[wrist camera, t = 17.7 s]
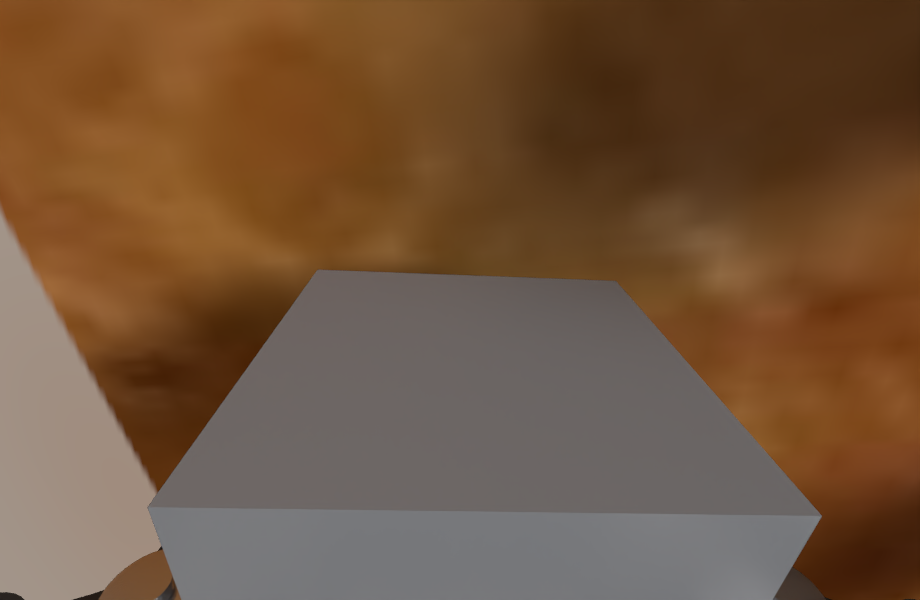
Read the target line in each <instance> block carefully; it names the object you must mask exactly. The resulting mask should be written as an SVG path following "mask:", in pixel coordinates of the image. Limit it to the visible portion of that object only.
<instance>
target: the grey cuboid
mask: <svg viewBox="0 0 920 600" xmlns="http://www.w3.org/2000/svg"><path fill="white" fill-rule="evenodd" d="M148 510H149V513H150V515H151V518H152V521H153V524H154V526H155V529H156V532H157V534H158V537H159V540H160V543H161V546H162V548H163V551H164V554H165V556H166V559H167V562H168V565H169V567H170V570H171V573H172V576H173V578H174V581H175V584H176V586H177V589H178V592H179V595H180V597H181V600H773V598H774V596H775V595H776V593H777V591H778V590H779V588H780V586H781V584H782V583H783V581H784V579H785V578H786V576H787V574H788V573H789V571H790V569H791V568H792V566H793V564H794V562H795V561H796V559H797V557H798V556H799V554H800V552H801V551H802V549H803V547H804V546H805V544H806V542H807V540H808V539H809V537H810V535H811V534H812V532H813V530H814V529H815V527H816V525H817V524H818V522H819V520H820V518H821V517H822V515H821V514H820V513H819V512H818V511H817V510H816V509H815V508H814V506H813V505H812V504H811V503H810V502H809V501H808V500H807V498H806V497H805V496H804V495H803V494H802V493H801V492H800V490H799V489H798V488H797V487H796V486H795V485H794V484H793V482H792V481H791V480H790V479H789V478H788V477H787V476H786V474H785V473H784V472H783V471H782V470H781V469H780V468H779V466H778V465H777V464H776V463H775V462H774V461H773V460H772V458H771V457H770V456H769V455H768V454H767V453H766V452H765V450H764V449H763V448H762V447H761V446H760V445H759V444H758V442H757V441H756V440H755V439H754V438H753V437H752V436H751V435H750V433H749V432H748V431H747V430H746V429H745V428H744V427H743V425H742V424H741V423H740V422H739V421H738V420H737V419H736V417H735V416H734V415H733V414H732V413H731V412H730V411H729V409H728V408H727V407H726V406H725V405H724V404H723V403H722V401H721V400H720V399H719V398H718V397H717V396H716V395H715V393H714V392H713V391H712V390H711V389H710V388H709V387H708V385H707V384H706V383H705V382H704V381H703V380H702V379H701V377H700V376H699V375H698V374H697V373H696V372H695V371H694V370H693V368H692V367H691V366H690V365H689V364H688V363H687V362H686V360H685V359H684V358H683V357H682V356H681V355H680V354H679V352H678V351H677V350H676V349H675V348H674V347H673V346H672V344H671V343H670V342H669V341H668V340H667V339H666V338H665V336H664V335H663V334H662V333H661V332H660V331H659V330H658V328H657V327H656V326H655V325H654V324H653V323H652V322H651V320H650V319H649V318H648V317H647V316H646V315H645V314H644V312H643V311H642V310H641V309H640V308H639V307H638V306H637V305H636V303H635V302H634V301H633V300H632V299H631V298H630V297H629V295H628V294H627V293H626V292H625V291H624V290H623V289H622V287H621V286H620V285H619V284H618V283H617V282H616V281H605V280H578V279H552V278H525V277H498V276H472V275H445V274H419V273H392V272H366V271H339V270H317V271H316V273H315V274H314V275H313V277H312V278H311V280H310V281H309V282H308V284H307V285H306V287H305V288H304V289H303V291H302V292H301V294H300V295H299V296H298V298H297V299H296V301H295V302H294V303H293V305H292V306H291V308H290V309H289V310H288V312H287V313H286V315H285V316H284V317H283V319H282V320H281V321H280V323H279V324H278V326H277V327H276V328H275V330H274V331H273V333H272V334H271V335H270V337H269V338H268V340H267V341H266V342H265V344H264V345H263V347H262V348H261V349H260V351H259V352H258V354H257V355H256V356H255V358H254V359H253V361H252V362H251V363H250V365H249V366H248V368H247V369H246V370H245V372H244V373H243V375H242V376H241V377H240V379H239V380H238V382H237V383H236V384H235V386H234V387H233V389H232V390H231V391H230V393H229V394H228V395H227V397H226V398H225V400H224V401H223V402H222V404H221V405H220V407H219V408H218V409H217V411H216V412H215V414H214V415H213V416H212V418H211V419H210V421H209V422H208V423H207V425H206V426H205V428H204V429H203V430H202V432H201V433H200V435H199V436H198V437H197V439H196V440H195V442H194V443H193V444H192V446H191V447H190V449H189V450H188V451H187V453H186V454H185V456H184V457H183V458H182V460H181V461H180V463H179V464H178V465H177V467H176V468H175V470H174V471H173V472H172V474H171V475H170V476H169V478H168V479H167V481H166V482H165V483H164V485H163V486H162V488H161V489H160V490H159V492H158V493H157V495H156V496H155V497H154V499H153V500H152V502H151V503H150V504H149V506H148Z"/></svg>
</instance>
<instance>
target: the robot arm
mask: <svg viewBox="0 0 920 600" xmlns="http://www.w3.org/2000/svg"><path fill="white" fill-rule="evenodd" d="M0 600H24V599H23V598H22V597H21V596H19V595H17V594H14V593H7V592H5V593H0ZM74 600H181V597H180V595H179V592H178V589H177V586H176V584H175V581H174V578H173V576H172V573H171V570H170V567H169V565H168V562H167V559H166V556H165V554H164V551H163V548H162V546H161V547H160V549H159V550H158V551H157V552H153V553H151V554H148V555H147V556H144V557H142V558H140V559H139V560H137V561H135V562H134V563H132V564H131V565H130V566H128V567H127V568H125V569H124V570H123V571H122V572H121V573H119V574H118V575H117V576H116V577H115V578H114V579H113V581H111V582H110V584H109V585H108V586H107V587H106V589H105V590H103V591H100V592H97V593H94V594H91V595H88V596H84V597H81V598H77V599H74ZM773 600H831V599H828V598H825V597H824V596H823V595H822V593H821V592H820V591H819V590H818V588H817V587H816V586H815V585H814V584H813V583H812V582H811V581H810V580H809V579H808V578H806V577H805V576H804V575H803V574H802V573H800V572H799V571H798V570H796V569H795V568H793V567H792V568H791V569H790V571H789V573H788V574H787V576H786V578H785V579H784V581H783V583H782V584H781V586H780V588H779V590H778V591H777V593H776V595H775V596H774V598H773ZM904 600H915V599H904Z"/></svg>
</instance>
